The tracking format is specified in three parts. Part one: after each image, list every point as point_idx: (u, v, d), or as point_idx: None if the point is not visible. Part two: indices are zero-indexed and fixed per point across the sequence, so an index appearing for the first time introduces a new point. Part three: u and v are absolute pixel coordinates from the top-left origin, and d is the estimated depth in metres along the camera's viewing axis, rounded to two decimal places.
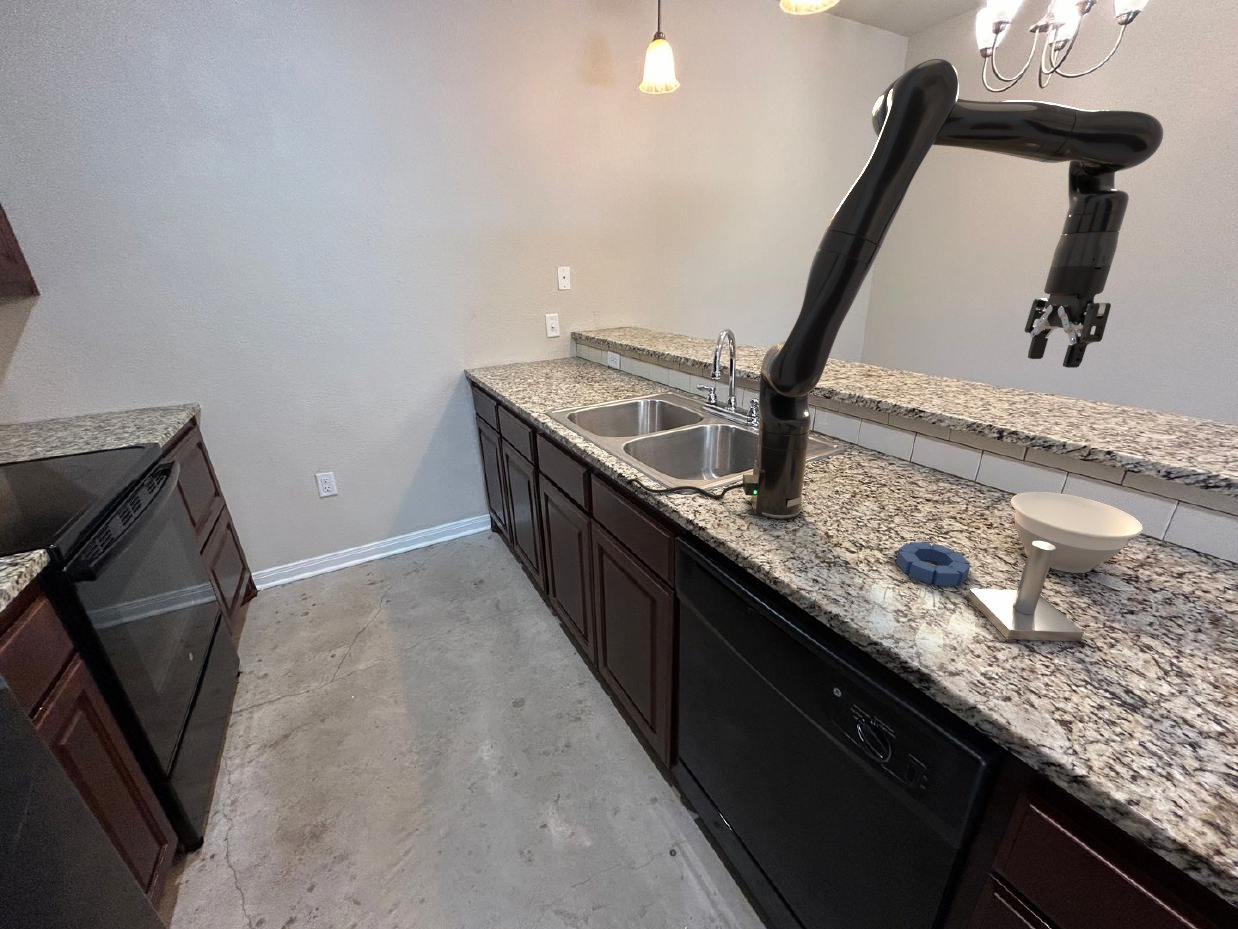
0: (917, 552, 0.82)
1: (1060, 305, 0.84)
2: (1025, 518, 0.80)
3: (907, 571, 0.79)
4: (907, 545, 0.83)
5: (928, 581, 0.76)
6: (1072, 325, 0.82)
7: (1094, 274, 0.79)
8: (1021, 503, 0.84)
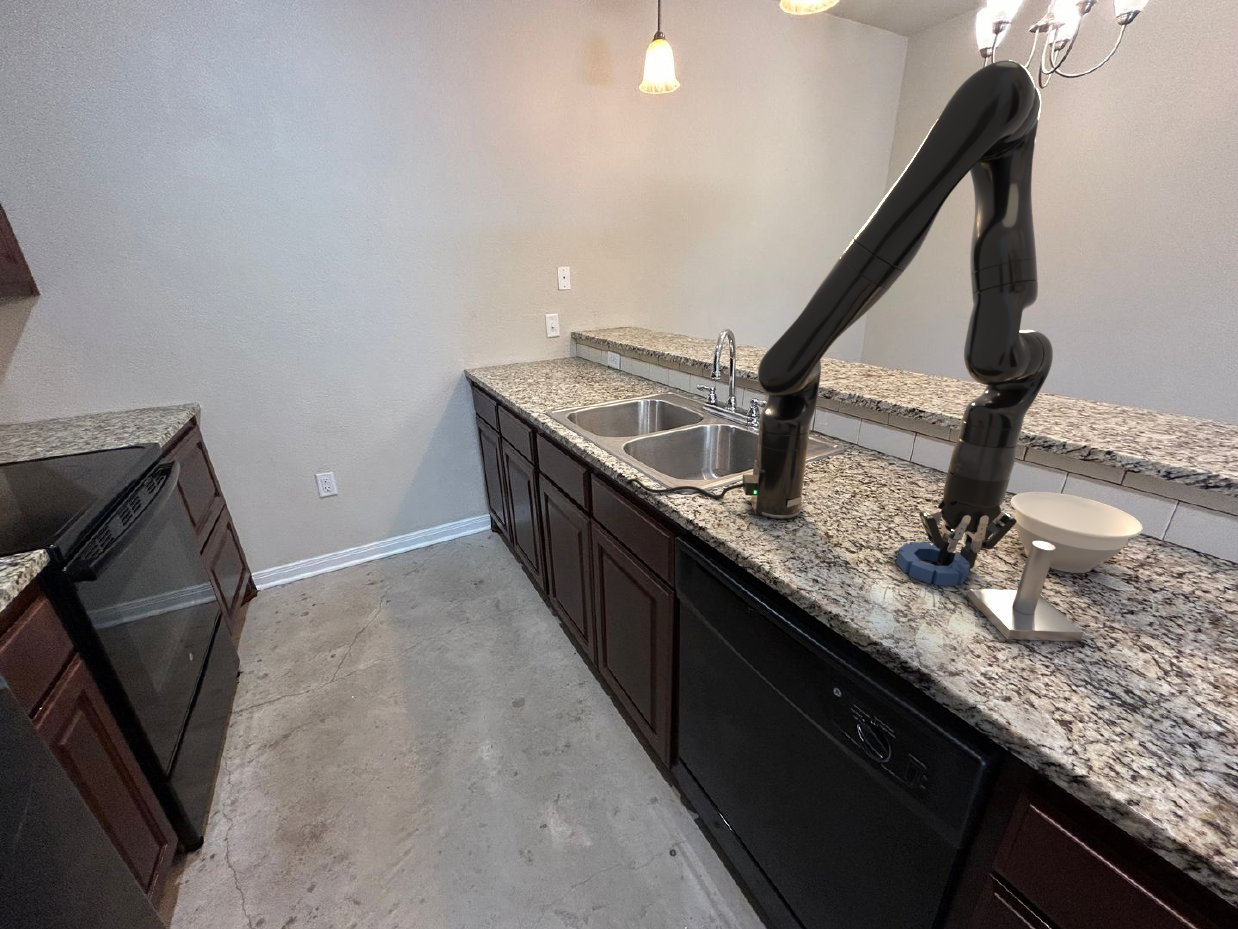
0: (917, 552, 0.82)
1: None
2: (1025, 518, 0.80)
3: (907, 571, 0.79)
4: (907, 545, 0.83)
5: (928, 581, 0.76)
6: (944, 527, 0.79)
7: (949, 479, 0.75)
8: (1021, 503, 0.84)
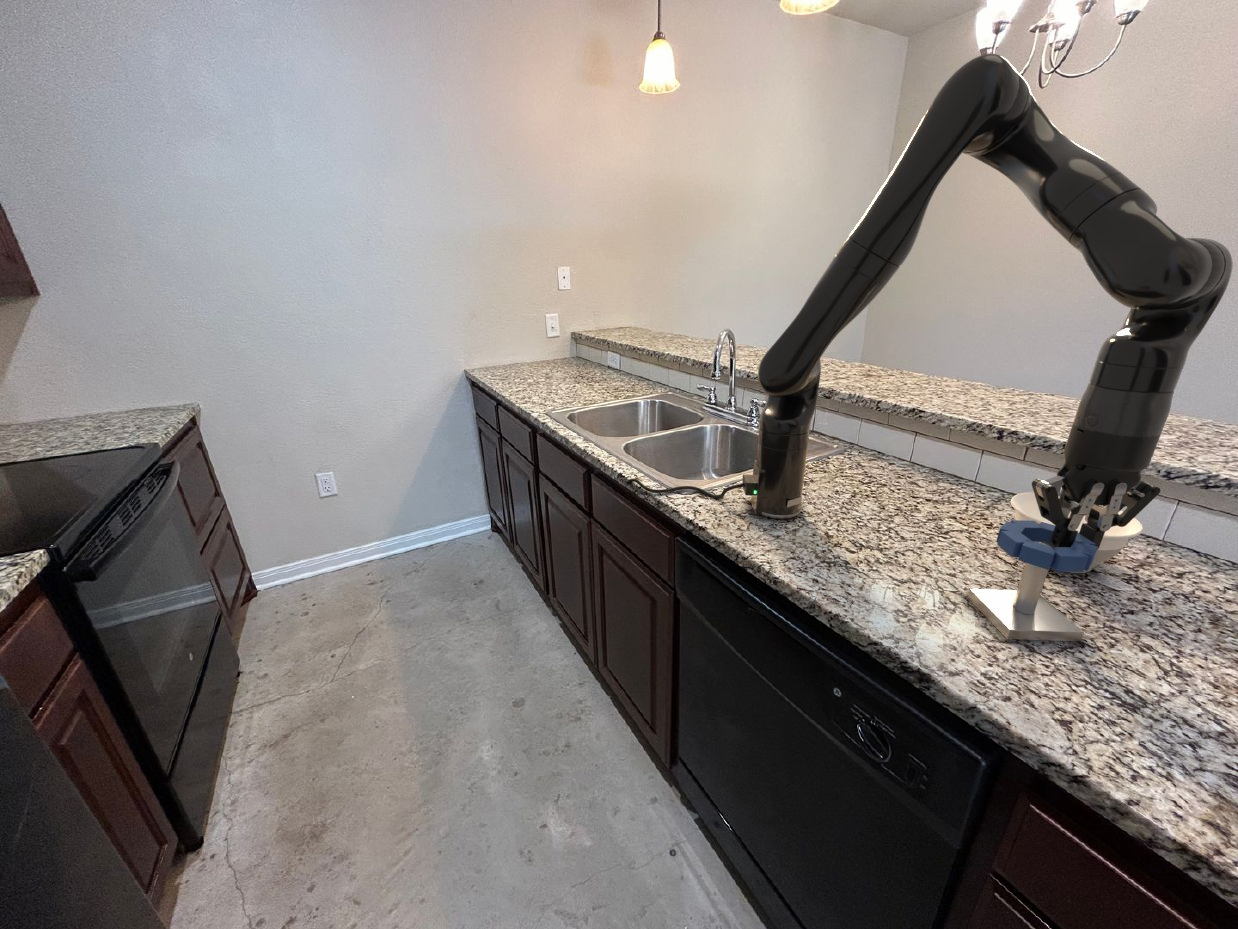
0: (1023, 532, 0.66)
1: None
2: (1025, 518, 0.80)
3: (1015, 554, 0.64)
4: (1009, 524, 0.68)
5: (1046, 566, 0.61)
6: (1061, 499, 0.63)
7: (1076, 437, 0.59)
8: (1021, 503, 0.84)
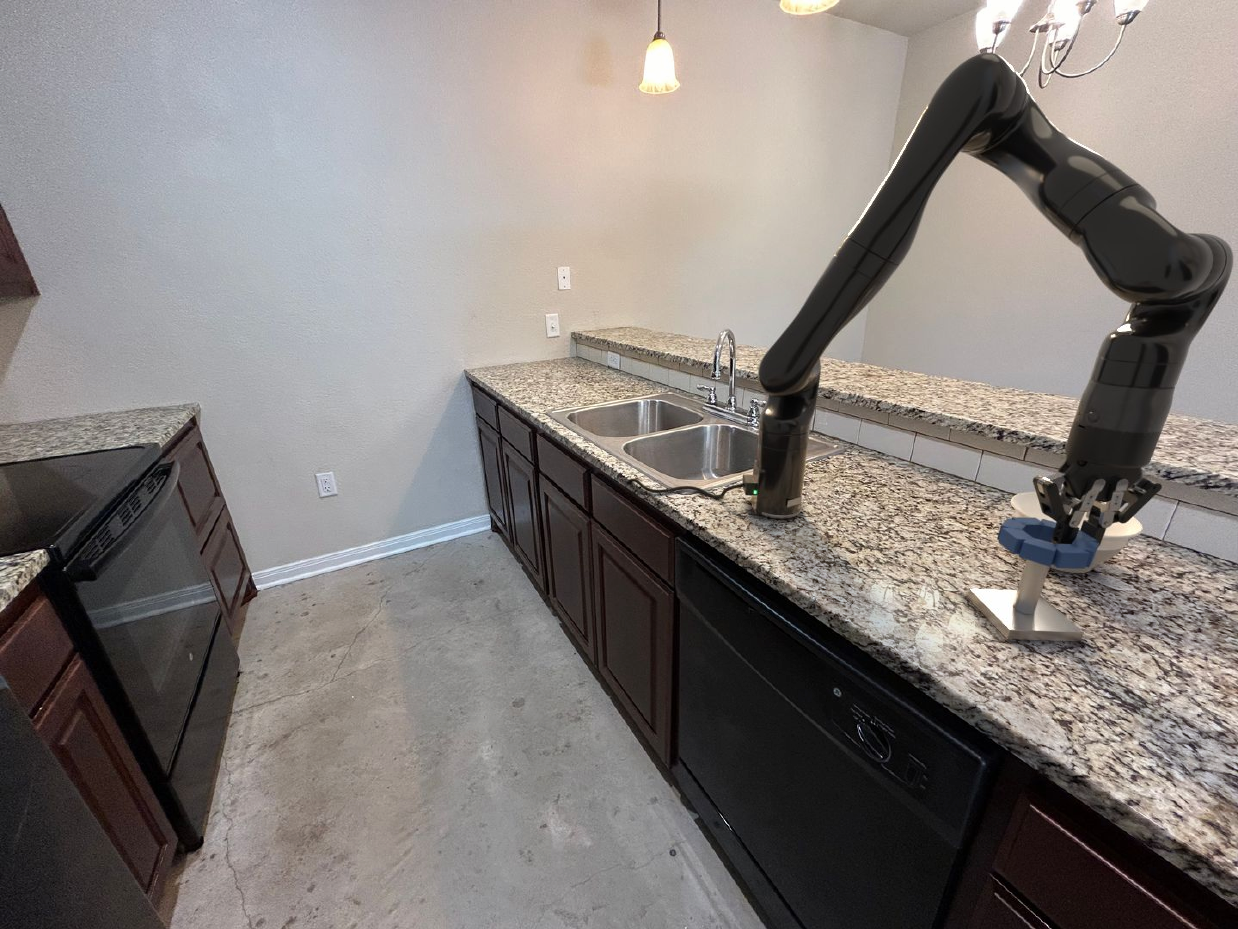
0: (1024, 529, 0.66)
1: None
2: None
3: (1016, 551, 0.63)
4: (1010, 521, 0.67)
5: (1047, 563, 0.61)
6: (1062, 496, 0.63)
7: (1077, 433, 0.59)
8: (1021, 503, 0.84)
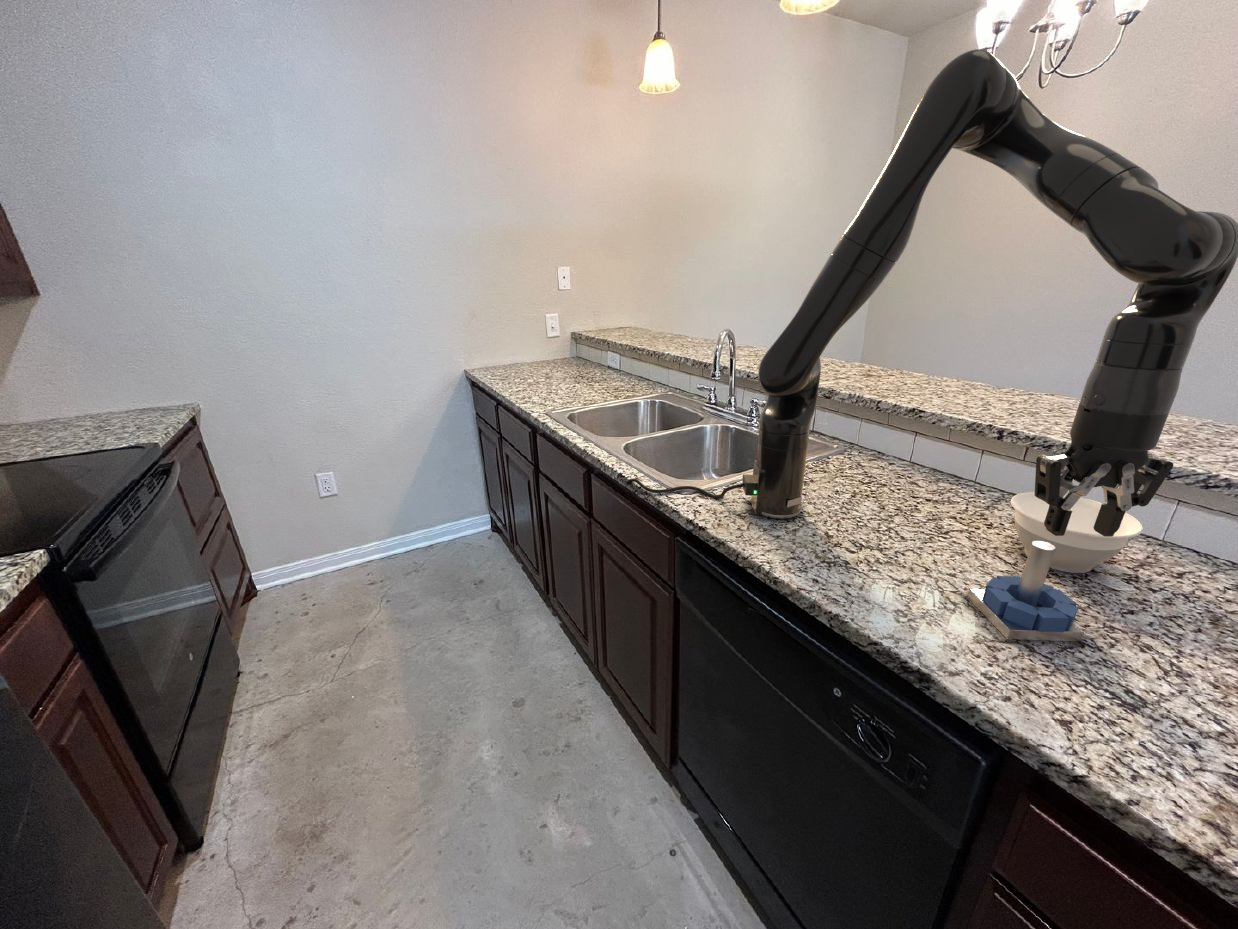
0: (1009, 589, 0.70)
1: None
2: (1025, 518, 0.80)
3: (1000, 612, 0.67)
4: (995, 580, 0.71)
5: (1029, 626, 0.64)
6: (1061, 479, 0.62)
7: (1082, 417, 0.59)
8: (1021, 503, 0.84)
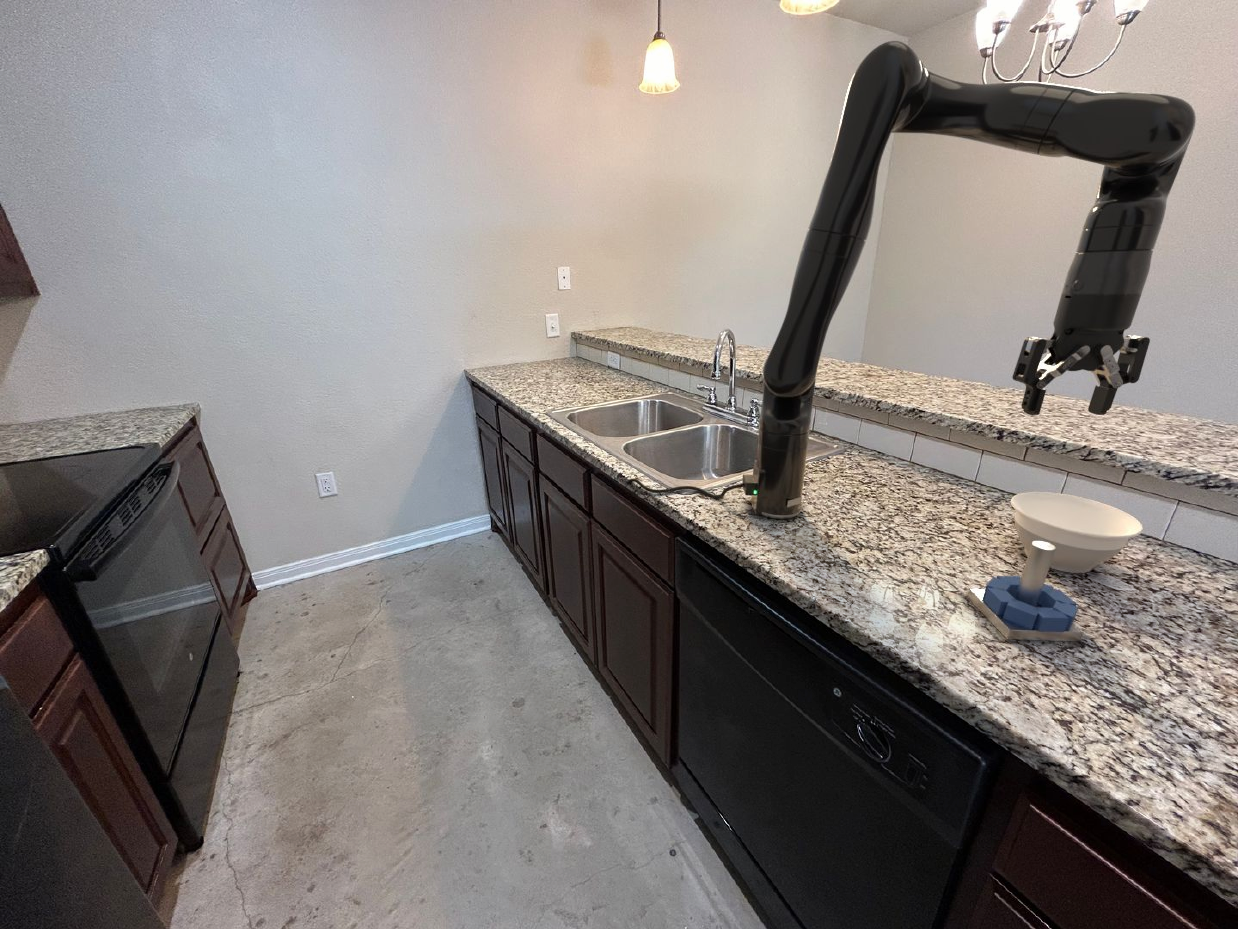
0: (1009, 589, 0.70)
1: None
2: (1025, 518, 0.80)
3: (1000, 612, 0.67)
4: (995, 580, 0.71)
5: (1029, 626, 0.64)
6: (1041, 363, 0.68)
7: (1064, 304, 0.64)
8: (1021, 503, 0.84)
